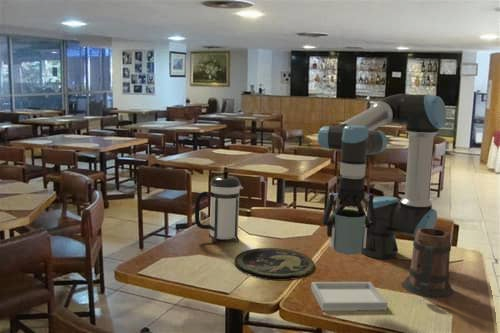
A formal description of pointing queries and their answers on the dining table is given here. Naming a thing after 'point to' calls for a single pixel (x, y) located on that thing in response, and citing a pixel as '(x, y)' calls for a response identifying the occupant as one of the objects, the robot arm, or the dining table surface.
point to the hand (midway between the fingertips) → (347, 246)
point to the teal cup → (349, 232)
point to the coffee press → (222, 207)
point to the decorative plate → (274, 263)
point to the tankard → (430, 264)
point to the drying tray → (348, 296)
